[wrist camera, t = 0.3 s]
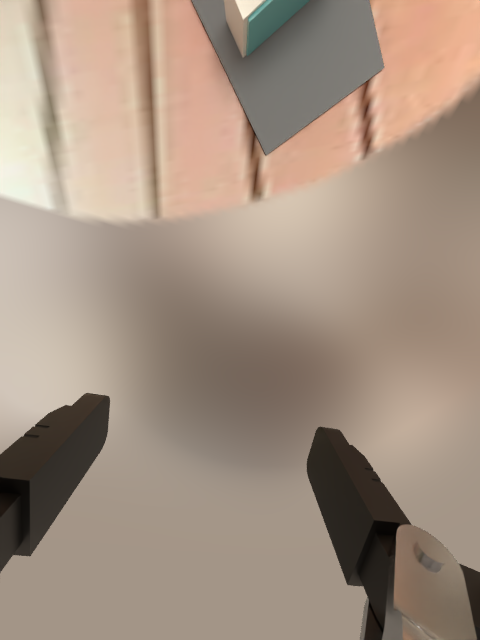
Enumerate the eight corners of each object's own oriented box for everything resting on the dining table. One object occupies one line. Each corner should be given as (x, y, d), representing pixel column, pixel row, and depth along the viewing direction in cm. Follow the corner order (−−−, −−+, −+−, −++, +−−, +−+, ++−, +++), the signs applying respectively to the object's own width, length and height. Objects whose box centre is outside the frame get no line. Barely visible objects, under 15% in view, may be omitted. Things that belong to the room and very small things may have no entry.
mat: (191, -1, 23) (190, -3, 23) (332, -150, 19) (333, -156, 19) (265, 155, 30) (266, 155, 29) (382, 68, 26) (384, 67, 25)
